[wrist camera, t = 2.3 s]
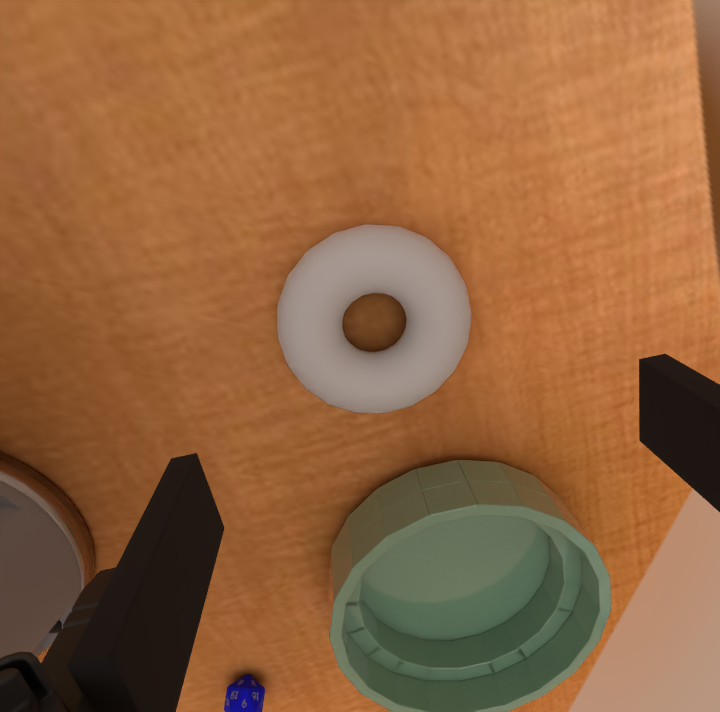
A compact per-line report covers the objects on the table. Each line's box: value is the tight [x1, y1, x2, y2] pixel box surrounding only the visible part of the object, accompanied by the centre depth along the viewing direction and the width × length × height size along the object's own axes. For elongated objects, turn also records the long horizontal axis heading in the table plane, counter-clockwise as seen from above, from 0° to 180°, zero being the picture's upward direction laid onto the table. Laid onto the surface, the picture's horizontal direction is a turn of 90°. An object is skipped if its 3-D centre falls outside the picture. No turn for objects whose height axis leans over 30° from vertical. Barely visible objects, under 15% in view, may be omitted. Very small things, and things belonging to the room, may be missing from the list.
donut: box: [277, 224, 472, 413], centre depth 27 cm, size 10×4×10 cm
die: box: [224, 674, 265, 712], centre depth 36 cm, size 3×3×3 cm
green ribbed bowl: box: [328, 459, 611, 712], centre depth 32 cm, size 16×16×5 cm
